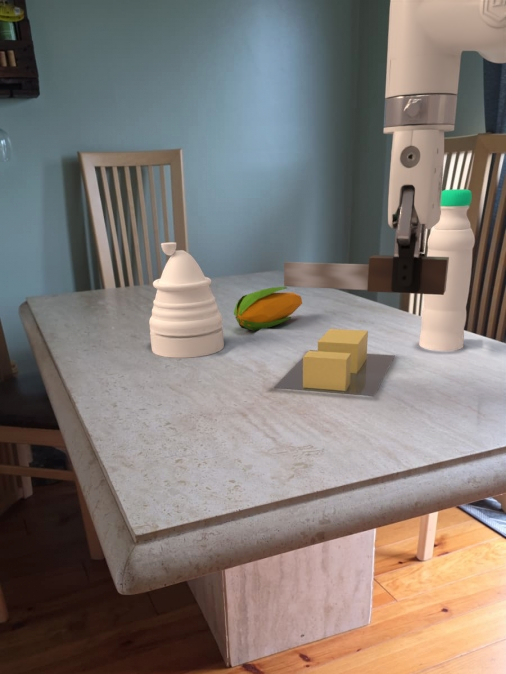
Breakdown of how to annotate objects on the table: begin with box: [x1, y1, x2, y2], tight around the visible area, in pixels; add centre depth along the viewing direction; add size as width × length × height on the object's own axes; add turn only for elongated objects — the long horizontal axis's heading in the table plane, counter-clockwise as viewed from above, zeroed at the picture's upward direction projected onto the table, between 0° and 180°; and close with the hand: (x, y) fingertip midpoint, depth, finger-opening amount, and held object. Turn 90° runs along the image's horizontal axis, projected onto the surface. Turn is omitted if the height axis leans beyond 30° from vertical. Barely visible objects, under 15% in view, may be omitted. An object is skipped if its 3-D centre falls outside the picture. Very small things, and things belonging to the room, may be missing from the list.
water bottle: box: [418, 188, 476, 352], centre depth 99 cm, size 7×7×25 cm
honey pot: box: [148, 241, 225, 359], centre depth 107 cm, size 13×13×18 cm
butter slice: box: [302, 350, 351, 391], centre depth 86 cm, size 6×3×4 cm, turn 71°
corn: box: [233, 286, 303, 331], centre depth 124 cm, size 7×8×20 cm
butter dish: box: [273, 349, 396, 397], centre depth 93 cm, size 14×20×1 cm
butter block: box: [317, 328, 369, 374], centre depth 95 cm, size 6×8×4 cm
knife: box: [283, 254, 449, 295], centre depth 76 cm, size 20×2×4 cm, turn 69°
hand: (407, 288), depth 75 cm, fingers closed on knife, 2 cm apart
